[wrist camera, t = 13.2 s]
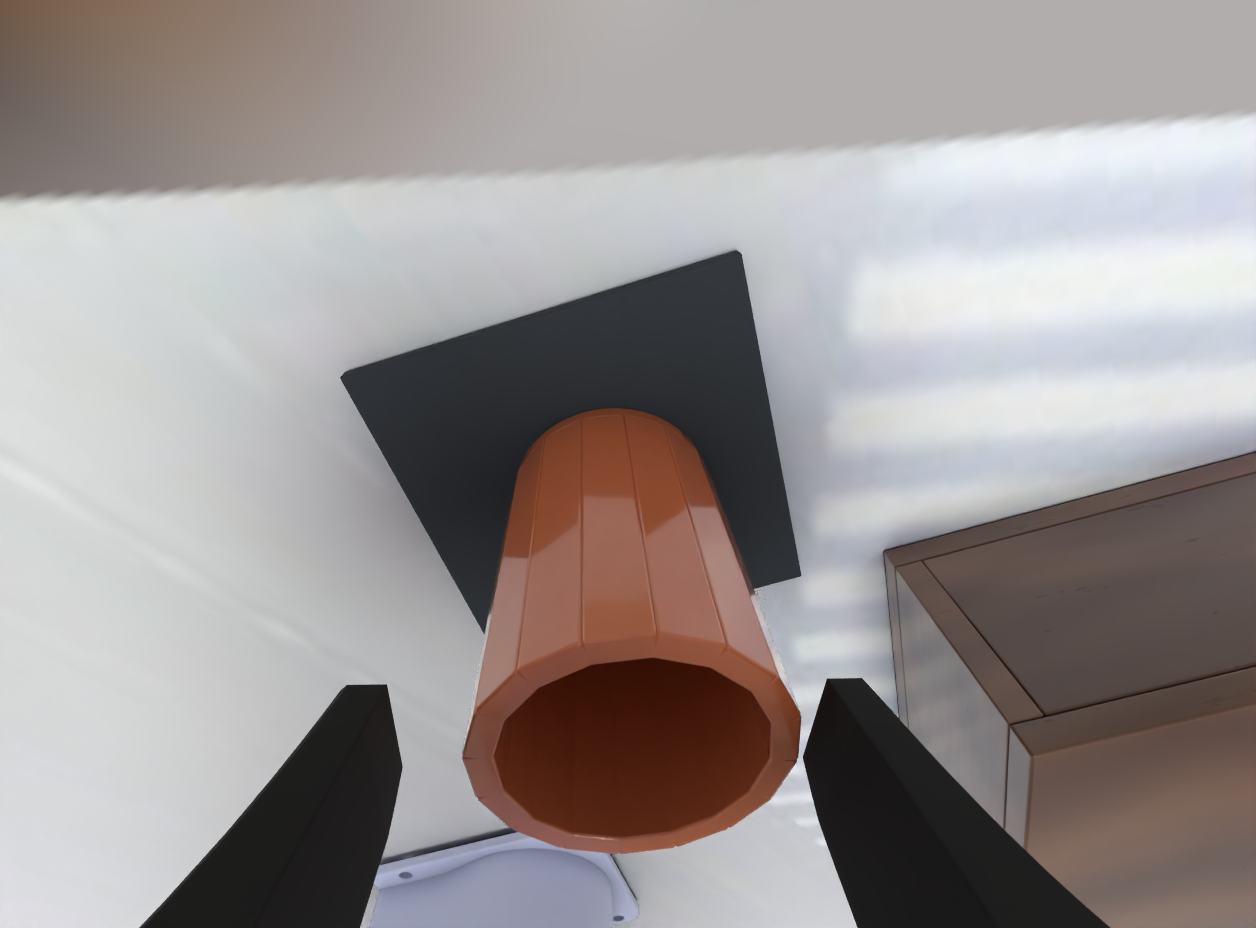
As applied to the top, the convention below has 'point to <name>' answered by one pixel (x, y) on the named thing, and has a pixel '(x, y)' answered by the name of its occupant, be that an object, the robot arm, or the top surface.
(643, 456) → the tumbler
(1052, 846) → the cabinet
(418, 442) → the mat
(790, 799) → the top surface
